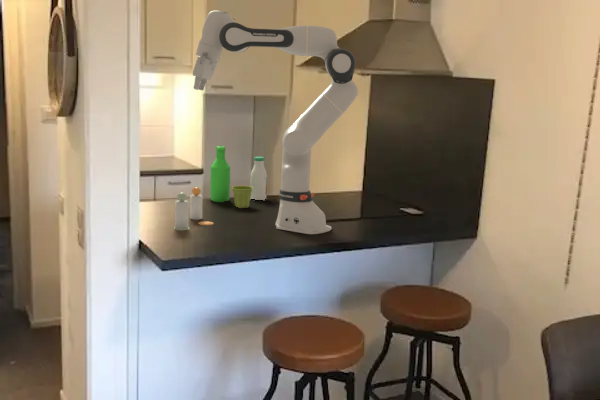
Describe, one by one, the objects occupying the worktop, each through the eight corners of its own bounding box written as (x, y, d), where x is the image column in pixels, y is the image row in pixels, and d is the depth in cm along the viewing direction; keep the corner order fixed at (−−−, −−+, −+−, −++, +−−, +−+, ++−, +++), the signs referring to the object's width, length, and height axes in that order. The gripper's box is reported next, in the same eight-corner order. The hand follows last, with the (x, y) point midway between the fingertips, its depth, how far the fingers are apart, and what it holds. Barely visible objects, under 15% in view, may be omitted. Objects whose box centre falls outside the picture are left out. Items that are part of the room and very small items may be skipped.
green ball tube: (190, 228, 237) (191, 192, 234) (180, 230, 233) (181, 194, 231) (182, 226, 240) (182, 190, 237) (172, 227, 236) (172, 192, 234)
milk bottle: (263, 201, 297) (265, 158, 293) (247, 200, 298) (249, 157, 295) (268, 198, 304) (269, 156, 301) (252, 197, 306) (253, 155, 302)
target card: (222, 226, 246) (222, 224, 246) (182, 234, 231) (182, 232, 230) (204, 221, 252) (204, 219, 252) (164, 229, 237) (164, 227, 237)
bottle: (208, 199, 298) (209, 145, 293) (227, 198, 300) (228, 145, 295) (212, 202, 289) (212, 147, 284) (231, 202, 292) (232, 147, 287)
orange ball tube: (204, 220, 254) (205, 187, 252) (195, 222, 250) (195, 188, 248) (196, 218, 257) (196, 185, 255) (187, 220, 253) (187, 186, 251)
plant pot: (227, 207, 280) (228, 188, 279) (236, 203, 289) (237, 184, 288) (247, 209, 278) (247, 190, 276) (255, 206, 286) (256, 186, 285)
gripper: (211, 54, 230) (201, 91, 232) (220, 58, 250) (210, 92, 252) (194, 48, 230) (184, 86, 232) (205, 53, 250) (195, 87, 252)
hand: (198, 89), depth 242 cm, fingers open, 8 cm apart
